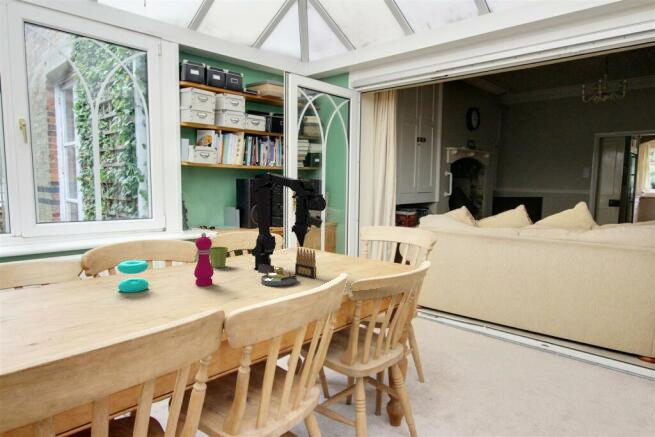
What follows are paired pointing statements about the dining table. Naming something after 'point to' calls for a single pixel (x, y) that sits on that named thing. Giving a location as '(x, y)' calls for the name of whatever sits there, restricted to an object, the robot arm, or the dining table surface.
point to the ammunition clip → (305, 264)
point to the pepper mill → (203, 262)
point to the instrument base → (278, 281)
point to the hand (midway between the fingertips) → (301, 246)
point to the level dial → (271, 273)
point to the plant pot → (218, 256)
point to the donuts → (133, 283)
